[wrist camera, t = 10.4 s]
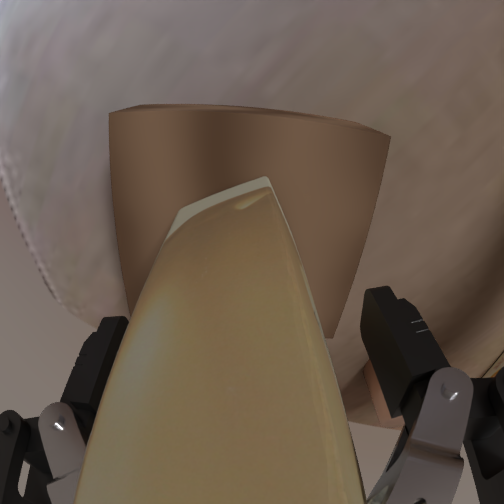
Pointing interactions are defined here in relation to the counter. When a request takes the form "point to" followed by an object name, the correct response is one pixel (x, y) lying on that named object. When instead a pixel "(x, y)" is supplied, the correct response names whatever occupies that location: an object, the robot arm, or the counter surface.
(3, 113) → the counter surface
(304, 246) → the walnut block
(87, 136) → the counter surface
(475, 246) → the counter surface
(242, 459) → the skincare box
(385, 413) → the pink rounded knob
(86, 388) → the robot arm
